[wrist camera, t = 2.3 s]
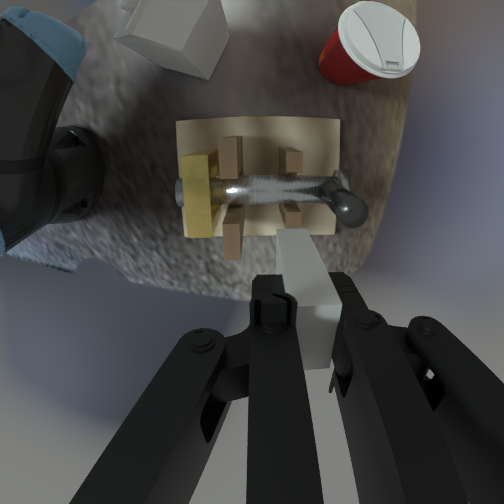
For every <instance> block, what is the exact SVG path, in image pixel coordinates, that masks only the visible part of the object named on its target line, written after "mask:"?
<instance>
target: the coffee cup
mask: <svg viewBox="0 0 504 504" xmlns="http://www.w3.org/2000/svg"><path fill="white" fill-rule="evenodd" d="M419 55H420V42H419V38H418V35H417V33H416V30H415V29H414V27H413V25H412V24H411V23H410V22H409V20H408V19H407V18H406V17H404V16H403V15H402V14H401V13H399V12H398V11H396V10H395V9H393V8H391V7H389V6H387V5H384V4H382V3H379V2H372V1H362V2H358V3H356V4H354V5H352V6H350V7H348V8H347V9H346V10H345V11H344V12H343V13H342V15H341V17H340V19H339V23H338V27H337V29H336V30H335V32H334V33H333V35H332V36H331V38H330V39H329V41H328V42H327V44H326V46H325V47H324V49H323V51H322V52H321V54H320V57H319V68H320V71H321V73H322V74H323V76H324V77H325V78H326V79H327V80H329V81H330V82H332V83H334V84H337V85H350V84H355V83H360V82H364V81H368V80H374V79H379V78H399V77H402V76H405V75H406V74H408V73H409V72H410V71H411V70H412V69H413V68H414V66H415V64H416V62H417V60H418V58H419Z"/></svg>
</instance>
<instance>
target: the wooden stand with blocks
mask: <svg viewBox="0 0 504 504" xmlns="http://www.w3.org/2000/svg"><path fill="white" fill-rule="evenodd" d="M176 135H177V154H178V169H179V178H182V168H181V156H184V155H187V154H189V153H192V152H195V151H198V150H215V149H218V151H219V175H220V179H238V176H239V175H321V176H332V174H333V172H334V170H336V169H337V170H339V154H340V119H330V118H315V117H291V116H244V117H220V118H205V119H193V120H183V121H176ZM182 216H183V225H184V235H185V237H188V236H187V227H186V217H185V206H183V207H182ZM335 225H336V215H335V214H334V213H333V212H332V211H331V209H330V208H329V207H328V206H327V205H326V204H239V205H221V217H220V219H219V222H218V225H217V227H216V230H215V233H214V235H213V236H223V246H224V260H241V252H242V242H243V236H260V235H276V232H277V229H307V230H308V232H309V234H310V235H335Z"/></svg>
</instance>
